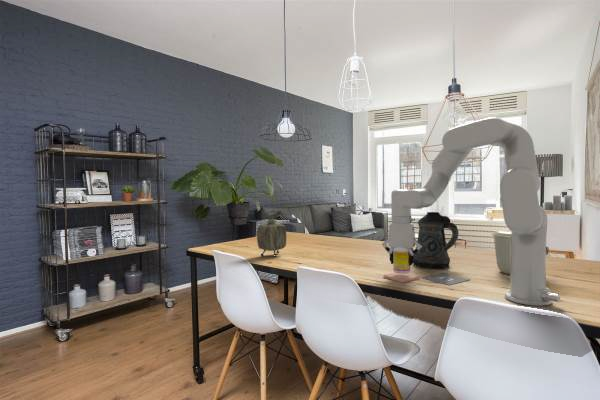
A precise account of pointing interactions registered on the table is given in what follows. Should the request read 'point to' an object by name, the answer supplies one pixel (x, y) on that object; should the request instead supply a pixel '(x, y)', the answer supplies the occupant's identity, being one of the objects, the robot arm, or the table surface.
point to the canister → (503, 249)
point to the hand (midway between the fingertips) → (401, 263)
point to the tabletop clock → (271, 235)
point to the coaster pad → (401, 277)
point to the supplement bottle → (401, 260)
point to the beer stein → (434, 241)
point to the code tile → (445, 279)
